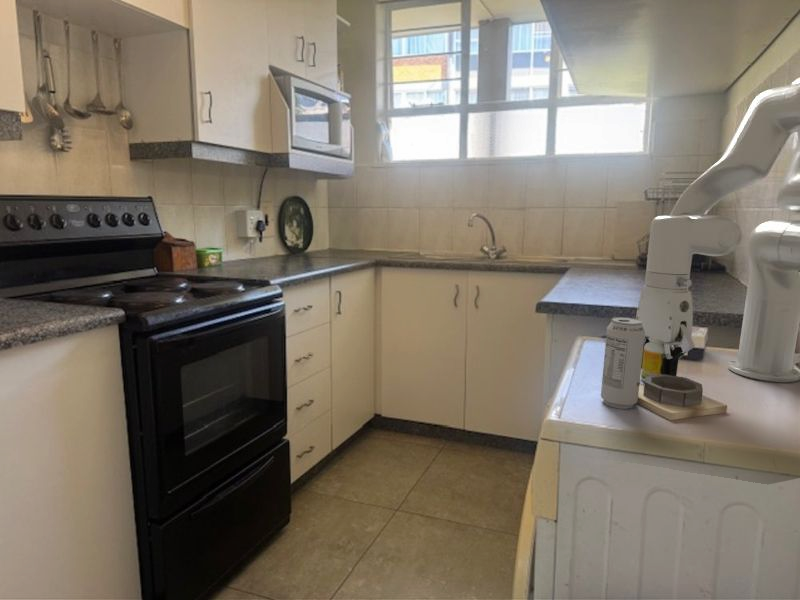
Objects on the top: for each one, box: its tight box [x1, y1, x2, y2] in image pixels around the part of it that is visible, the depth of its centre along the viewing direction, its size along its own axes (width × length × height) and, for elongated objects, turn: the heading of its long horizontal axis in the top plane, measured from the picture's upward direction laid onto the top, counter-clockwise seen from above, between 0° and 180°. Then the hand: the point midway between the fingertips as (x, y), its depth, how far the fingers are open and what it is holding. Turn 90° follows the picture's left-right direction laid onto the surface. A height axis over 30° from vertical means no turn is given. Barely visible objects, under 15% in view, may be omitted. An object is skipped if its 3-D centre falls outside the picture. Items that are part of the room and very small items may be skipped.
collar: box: [636, 374, 728, 421], centre depth 96 cm, size 12×12×4 cm
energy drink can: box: [600, 316, 645, 410], centre depth 94 cm, size 6×6×15 cm
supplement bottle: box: [640, 337, 674, 383], centre depth 106 cm, size 5×5×10 cm
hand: (656, 371), depth 107 cm, fingers closed on supplement bottle, 5 cm apart
